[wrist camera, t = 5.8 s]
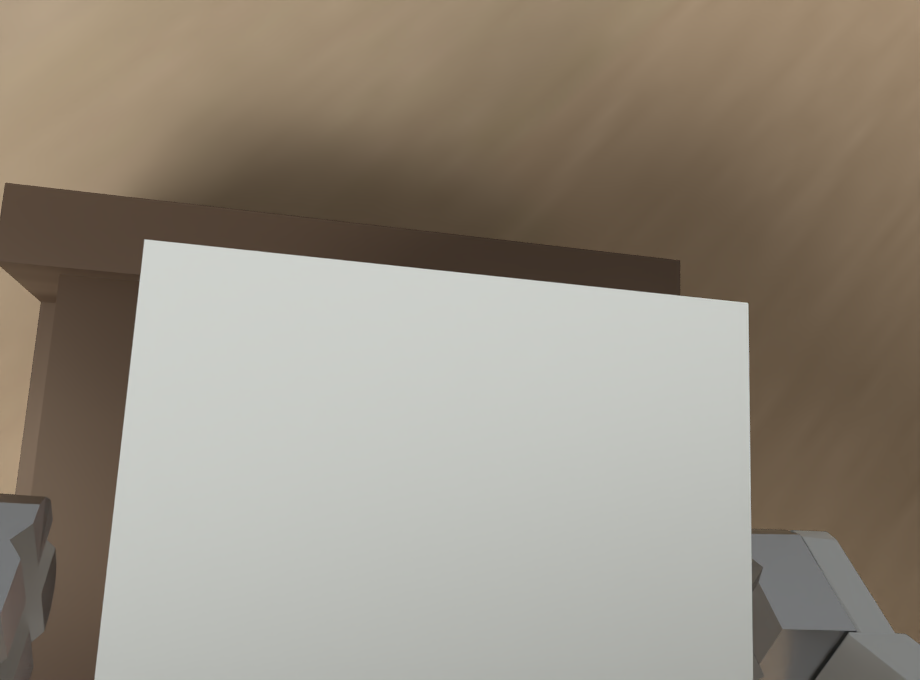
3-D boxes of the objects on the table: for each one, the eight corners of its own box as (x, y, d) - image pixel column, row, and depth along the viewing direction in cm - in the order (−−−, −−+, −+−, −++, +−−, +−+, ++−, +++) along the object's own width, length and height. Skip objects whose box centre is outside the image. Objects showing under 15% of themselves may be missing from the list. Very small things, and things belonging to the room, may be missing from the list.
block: (460, 714, 16) (770, 1052, 7) (168, 717, 15) (25, 1134, 5) (474, 399, 17) (759, 293, 8) (201, 380, 16) (131, 224, 6)
